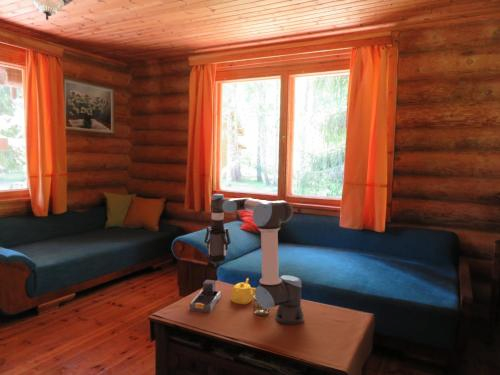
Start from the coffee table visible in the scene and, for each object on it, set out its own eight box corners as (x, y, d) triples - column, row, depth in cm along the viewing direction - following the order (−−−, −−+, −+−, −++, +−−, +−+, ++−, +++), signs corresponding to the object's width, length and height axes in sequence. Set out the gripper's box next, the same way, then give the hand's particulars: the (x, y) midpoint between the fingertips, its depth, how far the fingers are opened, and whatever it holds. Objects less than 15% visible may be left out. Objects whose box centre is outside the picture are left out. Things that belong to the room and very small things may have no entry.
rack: (220, 297, 225) (220, 280, 224) (209, 313, 203) (209, 294, 202) (202, 295, 228) (202, 278, 226) (189, 311, 206) (189, 292, 204)
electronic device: (220, 258, 235) (221, 228, 233) (226, 261, 230) (226, 229, 228) (208, 261, 229) (208, 230, 227) (213, 263, 224) (214, 231, 222)
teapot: (250, 309, 209) (251, 291, 208) (225, 305, 213) (225, 287, 212) (261, 295, 230) (261, 278, 228) (238, 292, 234) (238, 275, 233)
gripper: (236, 218, 228) (235, 253, 230) (202, 217, 232) (202, 251, 235) (233, 221, 221) (232, 257, 223) (198, 219, 225) (198, 254, 227)
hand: (217, 254), depth 229 cm, fingers closed on electronic device, 9 cm apart
